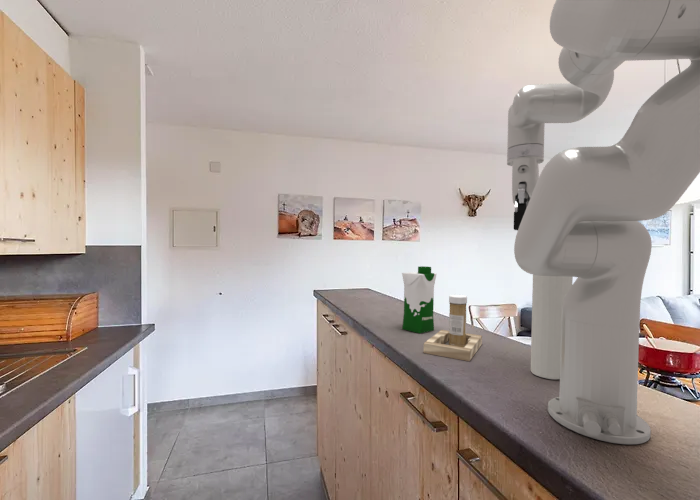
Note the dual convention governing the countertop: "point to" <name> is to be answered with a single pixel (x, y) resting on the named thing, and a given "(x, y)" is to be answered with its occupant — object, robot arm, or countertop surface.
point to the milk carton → (419, 300)
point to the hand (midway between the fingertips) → (523, 230)
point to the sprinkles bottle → (457, 320)
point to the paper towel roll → (547, 324)
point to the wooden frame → (462, 353)
